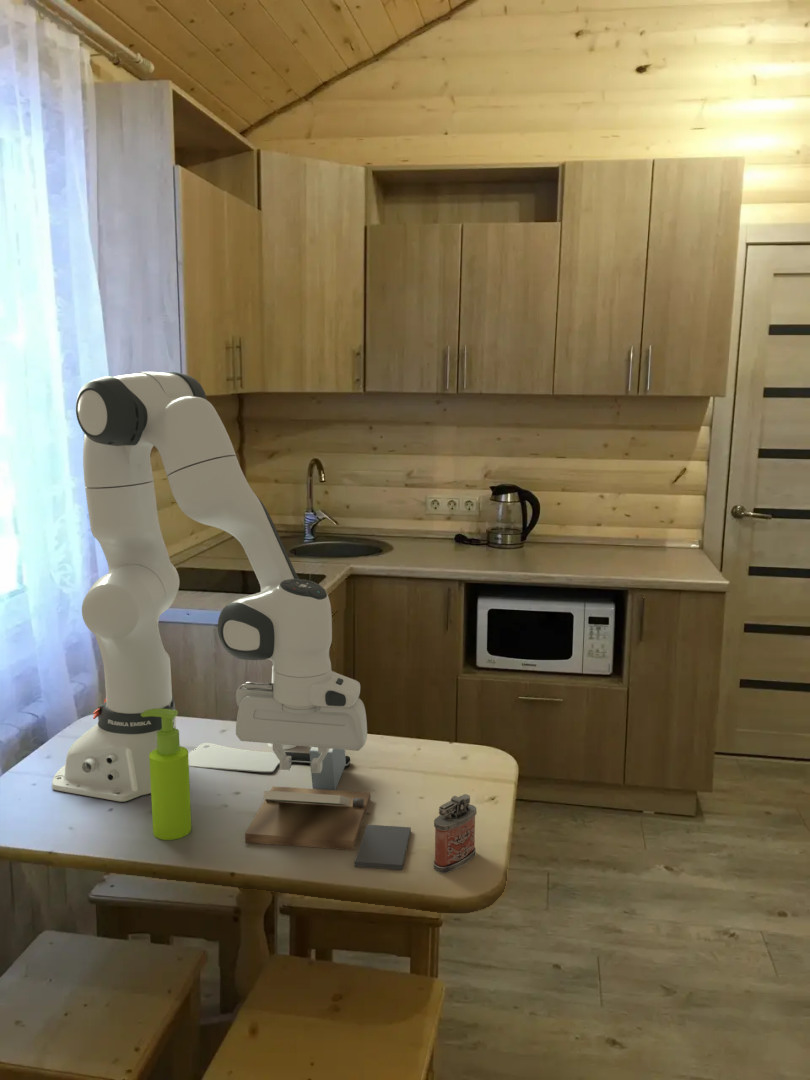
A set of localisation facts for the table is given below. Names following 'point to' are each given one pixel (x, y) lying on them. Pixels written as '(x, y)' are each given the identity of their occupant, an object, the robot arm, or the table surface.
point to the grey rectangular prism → (328, 769)
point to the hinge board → (309, 821)
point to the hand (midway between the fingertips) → (301, 770)
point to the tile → (307, 798)
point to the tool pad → (383, 847)
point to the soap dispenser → (169, 780)
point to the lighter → (454, 834)
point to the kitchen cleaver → (241, 758)
